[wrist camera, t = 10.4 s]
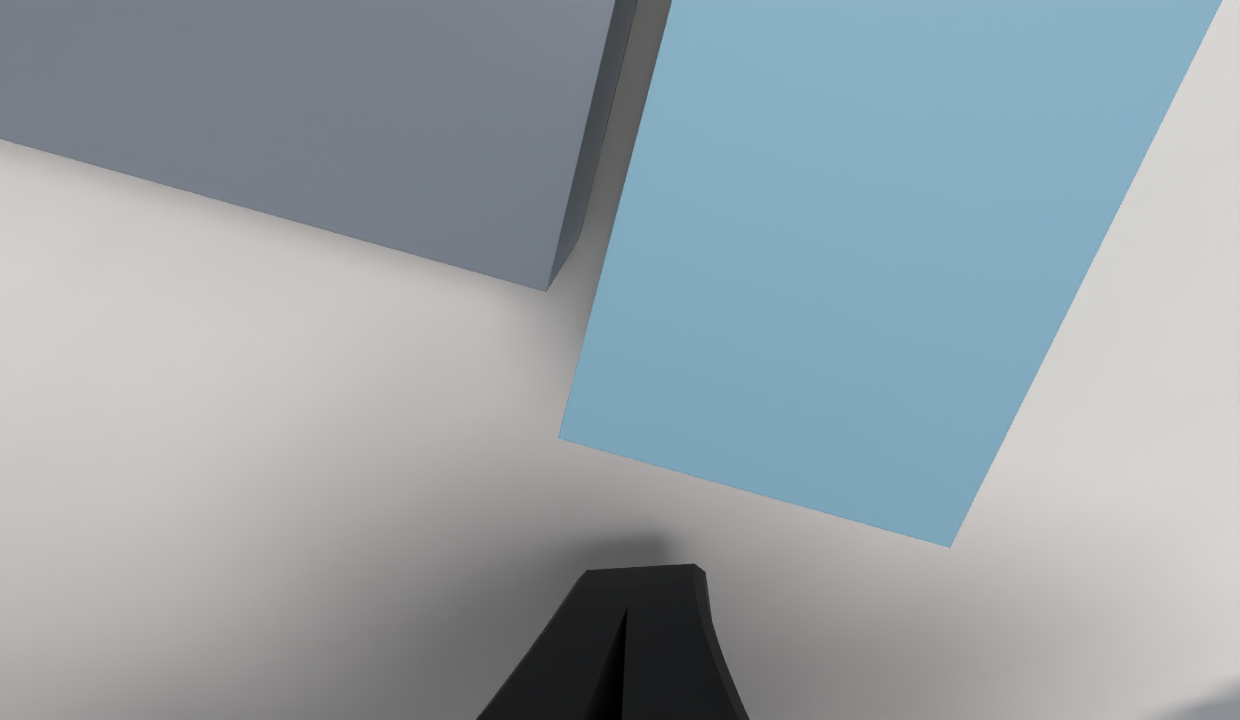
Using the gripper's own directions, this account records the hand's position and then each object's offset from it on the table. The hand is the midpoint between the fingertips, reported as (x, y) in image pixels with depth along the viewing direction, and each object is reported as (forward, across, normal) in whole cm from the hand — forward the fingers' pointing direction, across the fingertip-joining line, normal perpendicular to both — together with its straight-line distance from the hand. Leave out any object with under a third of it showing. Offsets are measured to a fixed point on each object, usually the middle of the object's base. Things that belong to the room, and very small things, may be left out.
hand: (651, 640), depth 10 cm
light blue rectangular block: (+1, -2, -5) cm, 6 cm away
